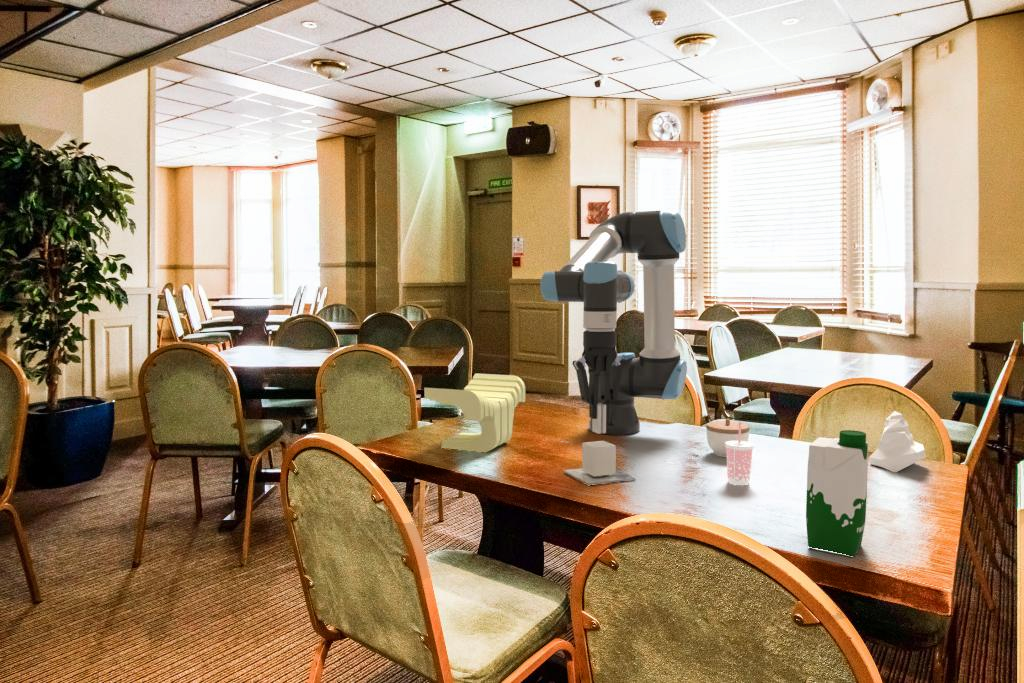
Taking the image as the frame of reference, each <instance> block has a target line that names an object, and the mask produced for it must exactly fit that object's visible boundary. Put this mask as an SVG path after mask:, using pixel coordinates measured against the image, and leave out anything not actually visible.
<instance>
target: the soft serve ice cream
mask: <svg viewBox="0 0 1024 683" xmlns="http://www.w3.org/2000/svg"><path fill="white" fill-rule="evenodd" d="M883 425H884V426H885V427H884V428H883V432H882V435H881V438H880V439H879V442H878V445H877V448H876V449H875V451H874V452H872V454H870V456H868V460H869V462H870V465H873V466H877V467H880V468H883V469H885V470H888V471H890V472H892V473H897V472H899V471H901V470H903V469H905V468H907V467H909V466H911V465H913V464H915V463H917V462H919V461H921V460H923V459H925V458H926V457H927V455H926V451H925V447H924V444H923V443H920V442H917V441H915V440H914V436H913V434H912V433H911V431H910V426H909V423H908V421H907V419H905V418H904V417H903V414H902V413H901V412H898V411H896V410H894V411H893V412H891V413H890V415H888V417H886V419H885V422H884V423H883Z"/></svg>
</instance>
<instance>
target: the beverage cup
mask: <svg viewBox="0 0 1024 683" xmlns="http://www.w3.org/2000/svg"><path fill="white" fill-rule="evenodd" d="M738 423H739V436H738V441H727V442H725V447H726V453H727V457H726V472H727V473H726V477H727V483H728V482H729V483H732V484H736V485H746V484H749V485H750V479H751V478H750V477H751V468H752V459H753V458H752V457H753V450H754V448H755V444H754V443H753V442H751V441H748V442H746V441H741V423H742V421H740V420H739V421H738ZM729 483H728V484H729Z"/></svg>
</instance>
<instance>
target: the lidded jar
mask: <svg viewBox="0 0 1024 683" xmlns="http://www.w3.org/2000/svg"><path fill="white" fill-rule="evenodd" d="M705 426H706V427H705V428H706V439H707V443H708V446H709V448H710V449H711V450H712V451H713V453H714V455H715V456H718V457H721V458H727V453H726V447H725V442H727V441H738V436H739V421H738V422H737V421H731V419H730V418H726V419H725V421H724V420H723V421H711V422H710V421H709V422H708V423H706V425H705ZM749 436H750V425H748V424H746V423H742V422H741V441H746V442H749Z"/></svg>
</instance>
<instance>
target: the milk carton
mask: <svg viewBox="0 0 1024 683" xmlns="http://www.w3.org/2000/svg"><path fill="white" fill-rule="evenodd" d="M868 451H869V443H868V442H867V433H866V432H864V431H859V430H848V429H847V430H845V429H844V430H840V431H839V437H838V438H837V437H834V438H829V437H822V436H819V437H817V438H816V439H815V440H814V441H812V442H811V443H810V444H809V448H808V460H807V474H806V479H807V480H806V500H805V501H806V504H805V519H806V521H805V522H806V536H807V547H808V546H809V547H812V548H818V549H823V550H828V551H833V552H837V553H842V554H846V555H849V556H855V557H856V555H855V554H857V553H858V551H859V549H860V548H861V545H862V541H863V536H864V531H865V526H866V520H867V519H866V518H867V517H866V515H867V498H868V497H867V496H868V495H867V493H868V492H867V491H868V472H869V471H868V465H869V464H868V463H869V456H868V454H869V452H868ZM859 547H860V548H859ZM856 552H857V553H856Z"/></svg>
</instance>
